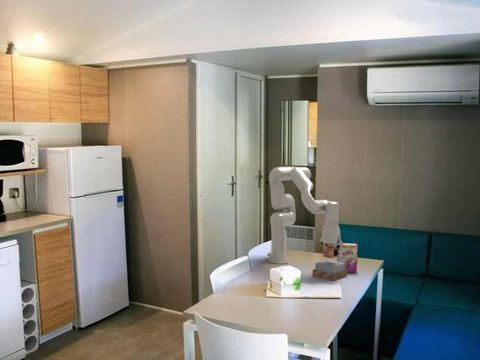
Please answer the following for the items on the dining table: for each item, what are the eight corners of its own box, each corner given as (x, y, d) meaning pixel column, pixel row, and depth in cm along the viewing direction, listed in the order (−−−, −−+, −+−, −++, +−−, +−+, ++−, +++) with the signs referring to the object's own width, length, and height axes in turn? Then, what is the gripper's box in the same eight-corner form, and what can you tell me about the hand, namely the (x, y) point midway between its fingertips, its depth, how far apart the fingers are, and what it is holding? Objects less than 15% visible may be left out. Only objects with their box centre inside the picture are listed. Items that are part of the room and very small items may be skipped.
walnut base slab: (312, 276, 267) (312, 269, 267) (326, 271, 277) (326, 265, 277) (333, 282, 258) (333, 275, 257) (347, 277, 267) (347, 270, 267)
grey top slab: (315, 269, 267) (315, 262, 267) (326, 265, 276) (327, 259, 275) (333, 274, 259) (333, 267, 258) (344, 270, 267) (345, 263, 267)
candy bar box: (337, 272, 275) (338, 244, 273) (336, 269, 280) (337, 242, 278) (357, 273, 274) (358, 245, 272) (355, 270, 279) (356, 243, 277)
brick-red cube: (323, 256, 266) (323, 246, 266) (329, 254, 270) (329, 244, 270) (332, 258, 262) (332, 247, 262) (338, 256, 266) (338, 246, 266)
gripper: (315, 222, 268) (314, 253, 269) (341, 226, 256) (340, 258, 258) (322, 220, 273) (321, 251, 275) (348, 224, 261) (347, 256, 263)
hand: (330, 254), depth 266 cm, fingers closed on brick-red cube, 6 cm apart
